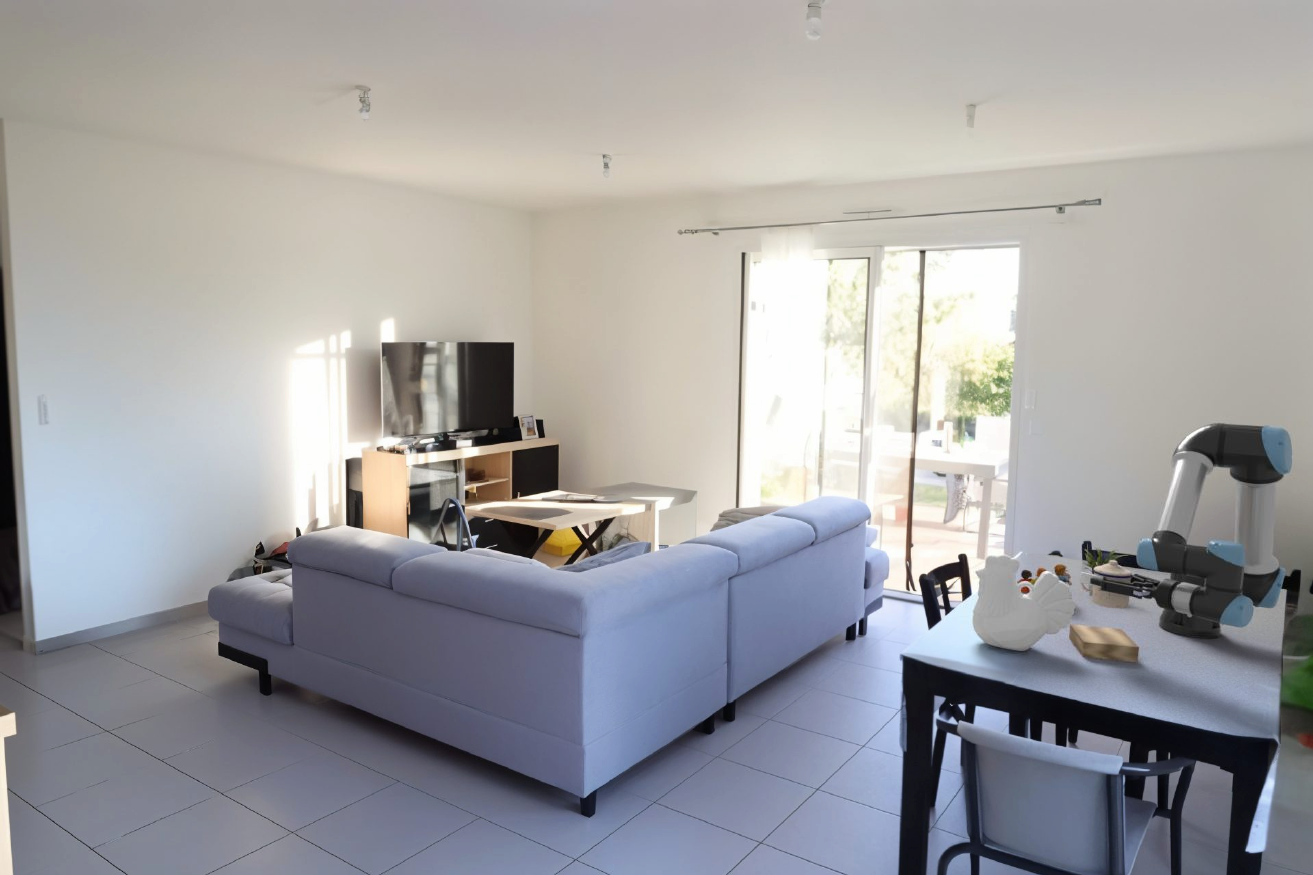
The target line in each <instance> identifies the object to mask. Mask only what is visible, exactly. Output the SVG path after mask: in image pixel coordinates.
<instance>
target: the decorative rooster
mask: <svg viewBox="0 0 1313 875" xmlns="http://www.w3.org/2000/svg"><path fill="white" fill-rule="evenodd" d="M984 562H985V563H984V568H981V569H978V570H975V571H974V572H975V575H976V576H977V577H978V580H979V581H978V590H977V596H978V597H977V601H976V603H975V605H974V608H973V610H972V626H973V630H974V632H975V633H976V635H977V636H978V638H979V639H981V640H982V642H984V643H986V644H987V645H990V646H994V647H996V648H997V647H998V648H1001V649H1007V650H1012V651H1018V652H1020V651H1021V652H1023V651H1028V650H1029V649H1030V648H1032V646H1034V645H1036V644H1037V642H1039V641H1040V640H1041V639H1042V638H1043V637H1044V636H1045V635H1046V634H1047V635H1055V634H1057V633H1059V632H1060V631H1061V629H1066V628H1067V627H1070V624H1071V621H1072V620H1073V615H1075V610H1076V608H1077V602H1076V601H1075V600H1074V598H1072V596H1073V595H1072V592H1071V591H1070V587H1069V584H1068V585H1066V584H1067V583H1066V584H1065V583H1064V582H1062V581H1060V580H1059V578H1058V576H1057V575H1055V574H1056V573H1053V572H1051V570H1047V571H1044V572H1043V573H1042V574H1041V575H1040V576H1039V578H1038V577H1037V578H1038V579H1037V580H1036V582H1035V584H1034V585H1032V584H1031V583H1030V582H1028V581H1023V582H1020V583H1019V584H1018V585H1017V581H1018V580H1017V575H1016V574H1017V573H1018V571H1019V569H1020V567H1021V563H1020V560H1018V558H1016V557H1011V556H1009V555H1007V554H1003V553H1000V554H997V555H993V554H991V555H990V554H989V555H988V556H986V558H985V561H984ZM1024 586H1027V587H1028V588H1029V589H1030V592H1029V593H1028V594H1022V593H1021V588H1022V587H1024Z"/></svg>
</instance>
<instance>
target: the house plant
mask: <svg viewBox="0 0 1313 875" xmlns="http://www.w3.org/2000/svg"><path fill="white" fill-rule="evenodd" d="M1095 550H1096V552H1097V554H1098V557H1097V559H1096V560H1095V558H1094V555H1092V553H1090V551H1088V550H1087V549H1086V548H1084V551H1086V553H1085V559H1086V561H1087V562H1082V564H1083V565H1086V566H1088V567H1089V568H1091V569H1089V568H1088V567H1084V568H1083V569H1085V570H1086V569H1087V570H1088V571H1090V572H1091V574H1094V572H1093V570H1094V568H1095V567H1097V566H1102V565H1104V564H1109V561H1110V560H1114V561H1116V559H1118V558H1121V557H1123V556H1125V557H1126V556H1129V557H1130V555H1128V554H1122V555H1119V554H1117V555H1116V554H1115V552H1117V551H1118V549H1114V550H1112V551H1110V552H1108V554H1107V555H1106V557H1105V559H1104V558H1103V552H1102V549H1101V548H1097V547H1095ZM1081 553H1083V554H1084V552H1081ZM1113 554H1115V555H1113ZM1103 559H1104V560H1103ZM1087 585H1088V589H1089V590H1093V585H1089V584H1087ZM1088 595H1090V596H1092V593H1089V592H1088Z"/></svg>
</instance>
